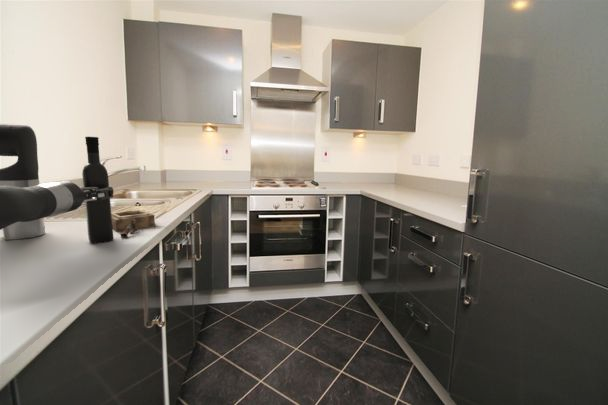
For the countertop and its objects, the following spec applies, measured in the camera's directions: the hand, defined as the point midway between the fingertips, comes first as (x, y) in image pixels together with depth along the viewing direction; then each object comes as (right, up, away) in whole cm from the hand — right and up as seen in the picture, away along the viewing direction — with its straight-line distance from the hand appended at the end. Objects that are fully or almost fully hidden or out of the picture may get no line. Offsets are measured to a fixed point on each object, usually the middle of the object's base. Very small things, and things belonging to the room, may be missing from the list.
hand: (95, 190), depth 83 cm
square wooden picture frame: (-2, -12, +21) cm, 24 cm away
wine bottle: (0, -15, +3) cm, 15 cm away
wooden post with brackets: (+4, -14, +10) cm, 18 cm away
